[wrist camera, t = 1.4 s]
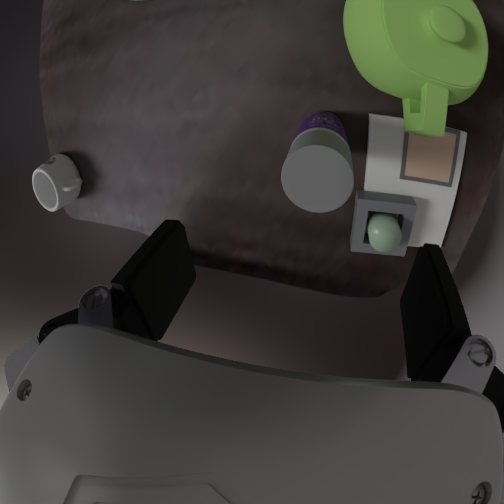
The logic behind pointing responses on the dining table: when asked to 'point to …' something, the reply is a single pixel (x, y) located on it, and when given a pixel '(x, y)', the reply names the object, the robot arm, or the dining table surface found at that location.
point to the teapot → (419, 54)
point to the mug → (56, 182)
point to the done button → (384, 231)
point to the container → (319, 165)
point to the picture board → (408, 183)
